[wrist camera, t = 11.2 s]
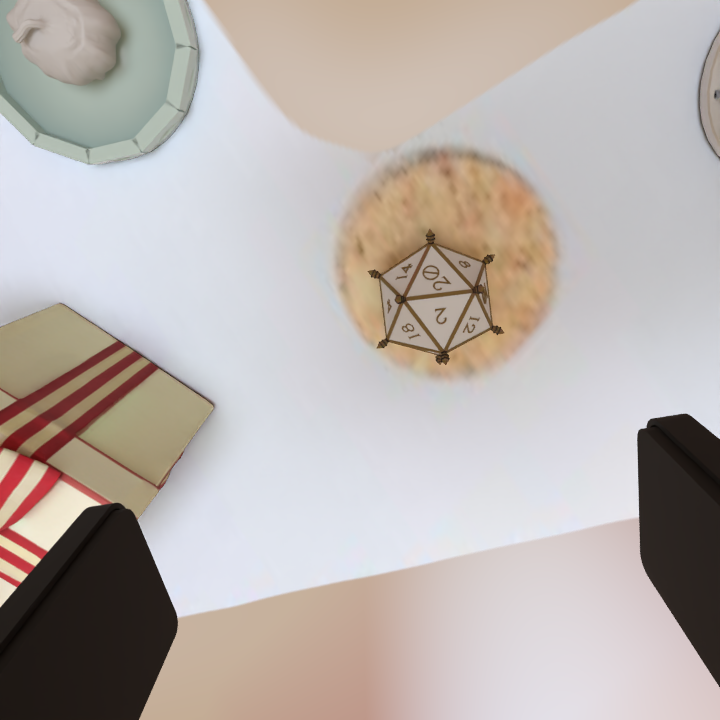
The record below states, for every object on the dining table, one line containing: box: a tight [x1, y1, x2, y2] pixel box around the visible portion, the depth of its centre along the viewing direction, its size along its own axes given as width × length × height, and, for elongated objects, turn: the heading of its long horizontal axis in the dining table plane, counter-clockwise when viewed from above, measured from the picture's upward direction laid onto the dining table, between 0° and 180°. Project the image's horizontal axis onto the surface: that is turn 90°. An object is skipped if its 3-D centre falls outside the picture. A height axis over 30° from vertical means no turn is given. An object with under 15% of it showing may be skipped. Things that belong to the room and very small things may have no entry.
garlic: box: [6, 0, 121, 86], centre depth 31 cm, size 6×5×5 cm
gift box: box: [0, 303, 214, 607], centre depth 36 cm, size 17×18×17 cm
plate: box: [0, 0, 199, 164], centre depth 33 cm, size 14×14×2 cm
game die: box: [368, 229, 504, 365], centre depth 35 cm, size 9×8×10 cm
